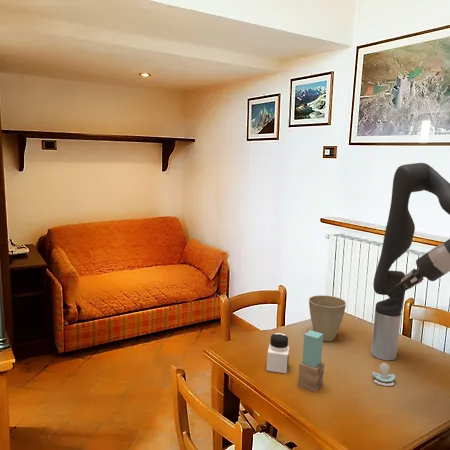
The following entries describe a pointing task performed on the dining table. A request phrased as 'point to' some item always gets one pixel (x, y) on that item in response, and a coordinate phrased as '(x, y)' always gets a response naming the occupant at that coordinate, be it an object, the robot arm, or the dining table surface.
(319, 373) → the tower upper slab
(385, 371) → the pacifier
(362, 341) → the dining table surface
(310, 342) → the pillar
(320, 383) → the tower base slab
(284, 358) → the medicine bottle
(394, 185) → the robot arm
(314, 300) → the plant pot
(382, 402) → the dining table surface
